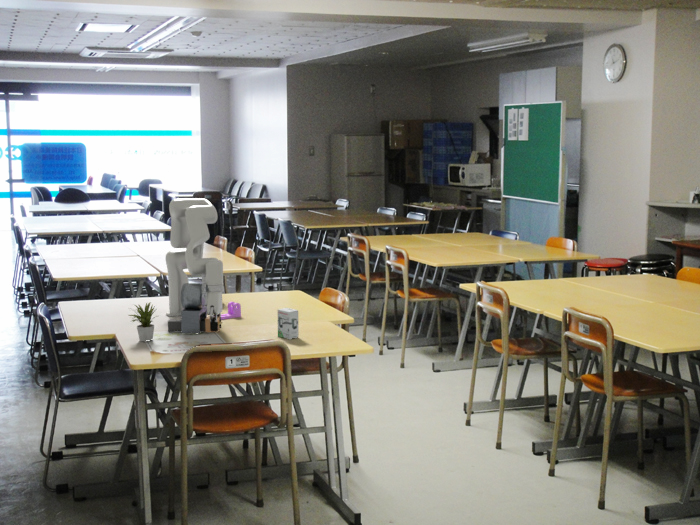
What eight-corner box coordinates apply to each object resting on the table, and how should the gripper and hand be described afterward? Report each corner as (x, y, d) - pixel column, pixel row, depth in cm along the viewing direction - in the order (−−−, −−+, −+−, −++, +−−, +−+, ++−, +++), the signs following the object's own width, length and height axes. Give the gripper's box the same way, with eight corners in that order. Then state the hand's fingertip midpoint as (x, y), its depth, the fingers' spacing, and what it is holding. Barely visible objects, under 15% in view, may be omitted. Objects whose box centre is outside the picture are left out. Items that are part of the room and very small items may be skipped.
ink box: (277, 336, 330) (276, 308, 328) (286, 334, 333) (285, 307, 331) (290, 339, 323) (289, 311, 322) (299, 337, 327) (298, 310, 325)
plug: (171, 329, 345) (170, 316, 344) (223, 330, 343) (222, 316, 342) (167, 331, 340) (167, 318, 339) (220, 332, 338) (219, 318, 337)
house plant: (131, 336, 331) (130, 298, 329) (165, 335, 332) (163, 297, 330) (124, 344, 317) (122, 304, 315) (159, 343, 318) (157, 303, 316)
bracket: (234, 315, 378) (234, 301, 377) (240, 316, 373) (240, 302, 373) (211, 318, 369) (210, 304, 368) (217, 320, 365) (217, 305, 364)
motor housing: (189, 327, 348) (188, 281, 345) (207, 328, 347) (205, 281, 345) (181, 333, 336) (179, 285, 333) (199, 333, 335) (198, 285, 333)
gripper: (211, 285, 347) (212, 325, 349) (200, 291, 330) (202, 333, 333) (227, 285, 347) (228, 325, 349) (218, 291, 330) (219, 333, 332)
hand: (215, 329), depth 341 cm, fingers closed on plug, 5 cm apart
